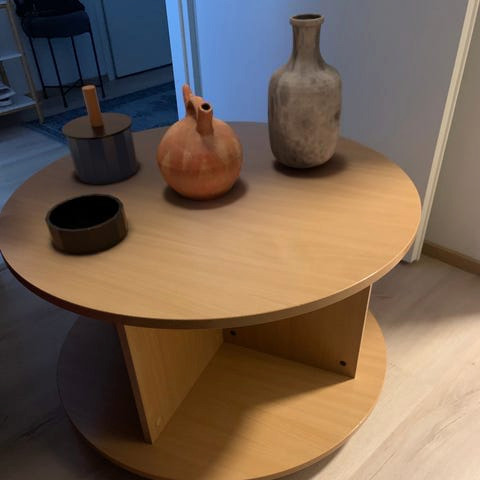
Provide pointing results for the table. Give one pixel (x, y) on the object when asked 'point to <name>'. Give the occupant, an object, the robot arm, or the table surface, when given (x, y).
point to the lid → (95, 120)
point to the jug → (199, 152)
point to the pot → (104, 158)
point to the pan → (87, 223)
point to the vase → (304, 100)
